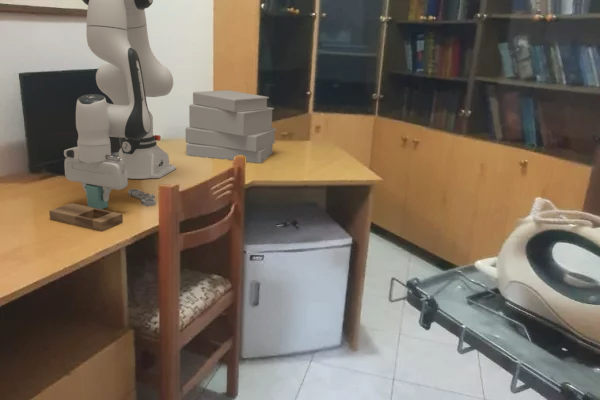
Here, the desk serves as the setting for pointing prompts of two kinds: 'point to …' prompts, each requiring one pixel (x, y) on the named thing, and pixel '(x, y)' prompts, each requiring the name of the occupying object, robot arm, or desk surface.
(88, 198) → the teal square prism
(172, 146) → the desk surface
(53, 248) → the desk surface
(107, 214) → the brown frame
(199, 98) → the book stack
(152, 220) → the desk surface
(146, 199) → the bracket
